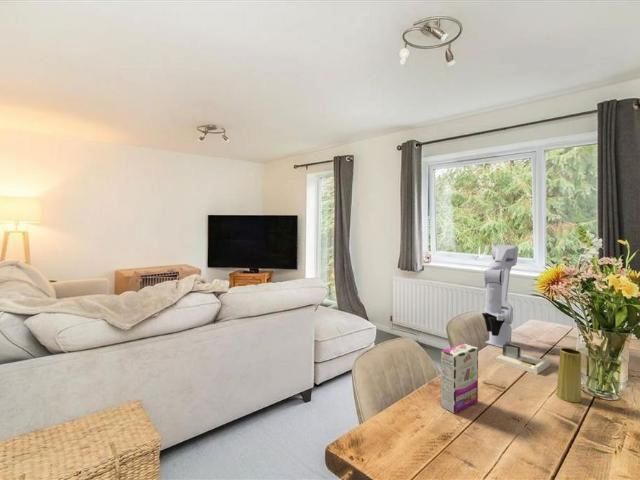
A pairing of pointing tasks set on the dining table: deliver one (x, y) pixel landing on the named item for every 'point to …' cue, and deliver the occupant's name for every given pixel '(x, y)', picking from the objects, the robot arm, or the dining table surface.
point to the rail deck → (520, 364)
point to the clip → (511, 350)
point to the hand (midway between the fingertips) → (492, 333)
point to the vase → (569, 375)
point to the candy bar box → (459, 377)
